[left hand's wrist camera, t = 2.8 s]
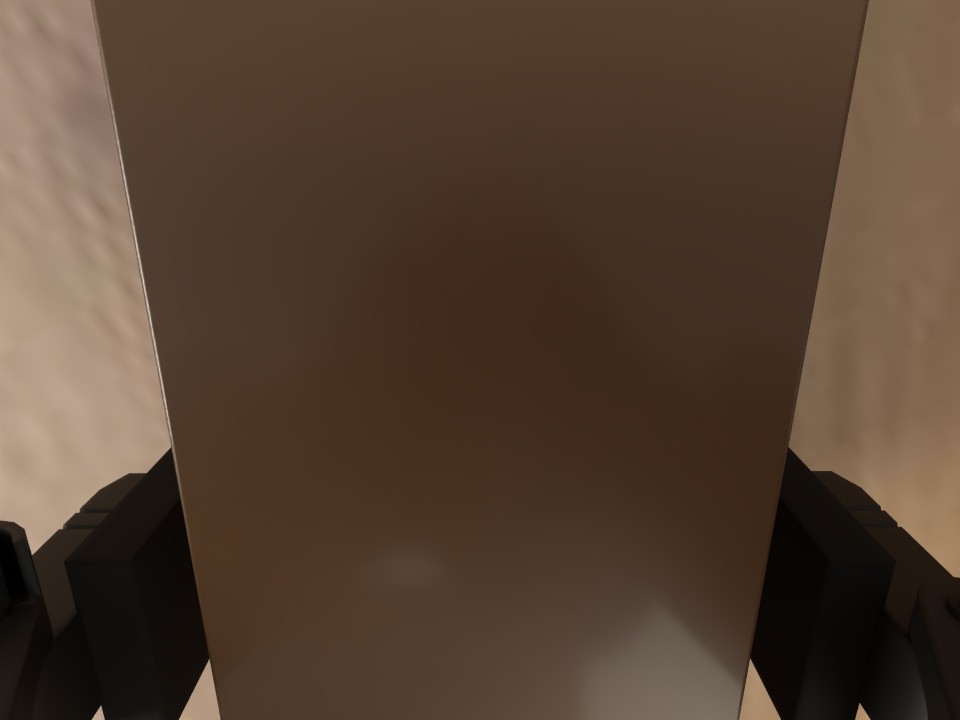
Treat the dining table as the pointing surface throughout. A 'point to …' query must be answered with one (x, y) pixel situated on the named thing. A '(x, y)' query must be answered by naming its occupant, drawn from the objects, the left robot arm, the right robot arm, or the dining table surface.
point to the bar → (479, 335)
